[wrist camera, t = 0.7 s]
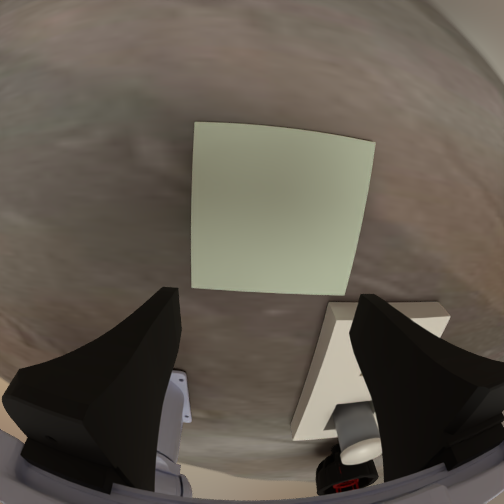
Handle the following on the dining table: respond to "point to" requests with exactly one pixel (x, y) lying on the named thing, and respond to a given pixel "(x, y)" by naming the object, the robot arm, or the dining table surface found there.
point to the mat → (276, 208)
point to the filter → (343, 474)
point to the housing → (346, 367)
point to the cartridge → (356, 432)
